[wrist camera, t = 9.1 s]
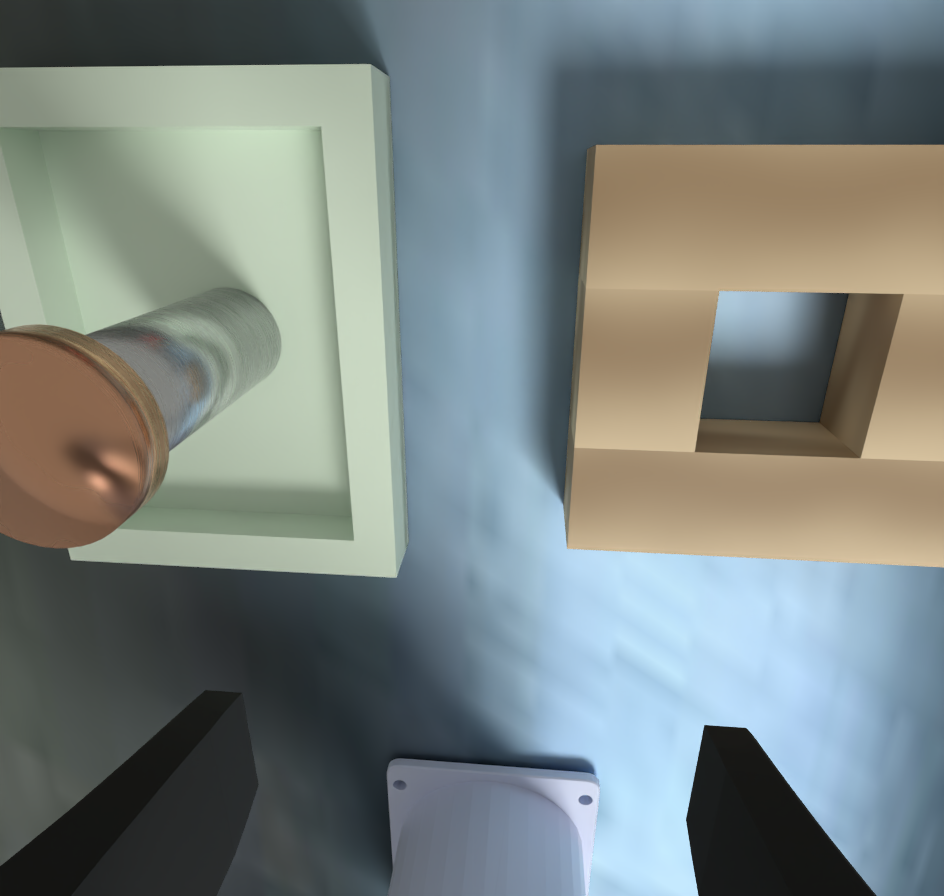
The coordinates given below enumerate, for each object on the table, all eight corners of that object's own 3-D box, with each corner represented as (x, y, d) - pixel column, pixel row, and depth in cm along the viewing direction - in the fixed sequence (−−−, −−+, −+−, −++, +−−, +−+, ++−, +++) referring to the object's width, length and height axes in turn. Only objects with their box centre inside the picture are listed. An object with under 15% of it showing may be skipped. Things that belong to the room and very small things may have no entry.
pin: (305, 404, 19) (157, 553, 11) (179, 400, 19) (-44, 543, 12) (291, 269, 17) (110, 340, 10) (155, 267, 17) (-119, 335, 10)
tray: (408, 542, 21) (396, 577, 19) (110, 527, 22) (71, 560, 20) (389, 77, 16) (370, 64, 14) (-2, 80, 16) (-69, 68, 15)
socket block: (902, 520, 19) (953, 567, 17) (563, 505, 20) (567, 548, 18) (1015, 149, 15) (1101, 144, 13) (587, 149, 16) (596, 144, 14)
